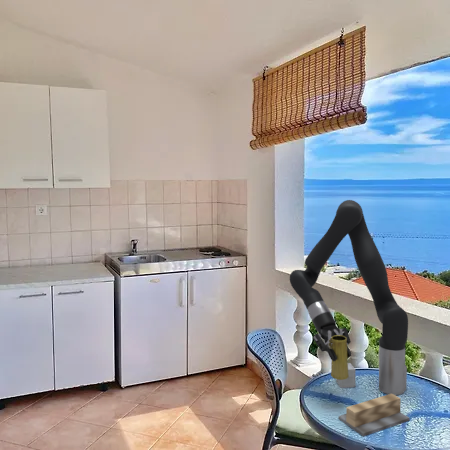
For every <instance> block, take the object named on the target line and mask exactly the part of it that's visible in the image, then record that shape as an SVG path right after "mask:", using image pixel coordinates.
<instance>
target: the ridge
mask: <svg viewBox="0 0 450 450" xmlns="http://www.w3.org/2000/svg"><path fill="white" fill-rule="evenodd" d="M401 406H402V405H401V397H399V396H398V395H394V394H386V395H385V394H384V395H382V396H379V397H376V398H373V399H369V400H365V401H362V402H360V403H359V402H358V403H356V404H353V405H349V406H346V411H345V412H346V413H344V414H340V415H338V420H339V421H340V422H342V423H344V424H345V426H348V427H350V428H351V429H352V430H353V431H355V432H356V433H357V434H359V435H360V436H362V437H365V436H366V437H367V436H369V435H371V434H375V433H377V432H380V431H383V430H386V429H389V428H392V427H394V426H397V425H401V424H403V423H406V422H409V421H410V417H409V416H407V415H406V414H404V413H402V412H401Z"/></svg>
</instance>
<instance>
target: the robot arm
mask: <svg viewBox="0 0 450 450" xmlns="http://www.w3.org/2000/svg"><path fill="white" fill-rule="evenodd" d="M347 235H348V237H349V239H350V240H349V241H350V242H351V243H350V244H351V249H352V253H353V256H354V260H355V264H356V266H357V269H358V271H359V274H360V276H361V277H362V279H363V282H364V284H365V286H366V288H367V290H368V291H369V293H370V296H371V298H372V301H373V305H374V308H375V312H376V315H377V318H378V320H379V322H380V323H381V324H382V331H381V336H380V338H378V339H379V341H378V345H379V346H378V348H379V349H378V389H379V391H381V392H382V393H384V394H386V395H388V394H394V395H396V396H399V395H403V394H404V393H405V392H406V391H407V379H408V378H407V376H408V375H407V374H408V369H407V368H408V367H407V365H406V344H407V341H408V332H409V316H408V314H407V312H406V310H404V308H402V307H401V306H400V305H399V304H398V302H397V301H396V299H395V298H394V296H393V293H392V291H391V288H390V285H389V279H388V272H387V268H386V265H385V264H384V260H383V259H382V256H381V253H380V251H379V249H378V247H377V244H376V243H375V241H374V240H373V237H372V235H371V234H370V232H369V229H368V226H367V223H366V219H365V216H364V211H363V208H362V206H361V204H359V203H358V202H357V201H356V200H353V199H347V200H344V201H342V202H341V203H340V204H339V205H338V207H337V210H336V212H335V216H334V218H333V220H332V223H331V225H330V226H329V227H328V229H327V231H326V232H325V234H324V235H323V236H322V237H321V239H319V241H318V242H317V243H316V244H315V245H314V247H312V249H311V251H310V252H309V253H308V255H307V256H306V258H305V260H304V265H305V266H306V268H305V270H303V269H294V270H293V271H291V273H290V275H289V284H290V286H291V287H292V289H293V290H294V292H295V293H296V294H297V295H298V296H299V298H300V299H301V300H302V301H303V303H304V306H305V307H306V310H307V312H308V315H309V318H310V319H311V323H313V325H314V327H315V330H316V331H317V332H318V333H315V335H314V336H313V337H312V339H313V341H314V342H315V344H316V346H317V347H318V348H319V350H320V351H321V352H327V354H328V356H329V358H330V360H331V361H332V360H333V361H336V360H337V356H336V354H335V352H334V350H333V349H332V339H331V338H332V336H335V335H342V336H345V337H346V338H347V359H349V358H350V357H352V352H351V350H350V348H349V344H351V342H352V340H351V339H350V335H349V333H348V329H347V328H346V327H343V328H339V327H338V326H337V323H336V319H335V318H334V316H333V313H331V311H330V309H329V307H328V305H327V303H326V302H325V301H324V298H323V297H322V295H321V293H320V291H319V290H318V289H315V288H313V287H314V286H315V284H316V283H317V281H318V279H319V276H320V274H321V271H322V269H323V267H324V266H325V265H326V264H327V262H328V261H329V259H330V258H331V256H332V255H333V253H334V252H335V251H336V249H337V247H338V246H339V244H340V243H341V242H342V241H343V240H344V239H345V238H346V237H347Z"/></svg>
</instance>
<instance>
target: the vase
mask: <svg viewBox="0 0 450 450" xmlns="http://www.w3.org/2000/svg"><path fill="white" fill-rule="evenodd" d="M331 339H332V343H331V344H332V349H333V350H334V352H335V354H336V356H337V360H336V361H333V360H331V361H330V362H331V363H330V364H331V369H330V370H331V371H330V372H331V373H330V376H331V378H332V379H335V380H336V379H338V380H344V379H347V378H348V377H349V375H348V363H349V362H348V358H347V338H346V337H345V336H342V335H335V336H332V338H331Z"/></svg>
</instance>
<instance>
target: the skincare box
mask: <svg viewBox="0 0 450 450" xmlns="http://www.w3.org/2000/svg"><path fill="white" fill-rule="evenodd" d="M348 375H349V377H348V378H347V379H344V380H338V379H335V380H336V381H335V382H336V383H337V385H338V386H339V388H340V389H345V388H347V389H348V388H356V368H355V367H354V366H353V364H352V363H351V362H348Z"/></svg>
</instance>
